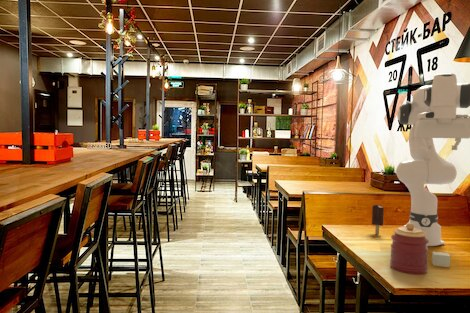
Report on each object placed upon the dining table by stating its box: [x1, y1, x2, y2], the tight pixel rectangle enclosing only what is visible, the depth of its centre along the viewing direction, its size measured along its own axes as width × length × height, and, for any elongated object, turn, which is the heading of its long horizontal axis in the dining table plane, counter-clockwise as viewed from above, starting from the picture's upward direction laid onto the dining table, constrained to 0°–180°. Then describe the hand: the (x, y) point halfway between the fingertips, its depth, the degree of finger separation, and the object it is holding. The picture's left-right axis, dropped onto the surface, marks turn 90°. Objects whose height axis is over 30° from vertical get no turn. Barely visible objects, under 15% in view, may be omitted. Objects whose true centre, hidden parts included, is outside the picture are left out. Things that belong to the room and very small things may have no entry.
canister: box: [389, 222, 429, 275], centre depth 145 cm, size 13×13×18 cm
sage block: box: [431, 251, 451, 268], centre depth 151 cm, size 4×6×4 cm
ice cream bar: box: [371, 204, 385, 235], centre depth 196 cm, size 5×2×15 cm, turn 62°
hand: (441, 149), depth 152 cm, fingers open, 8 cm apart
